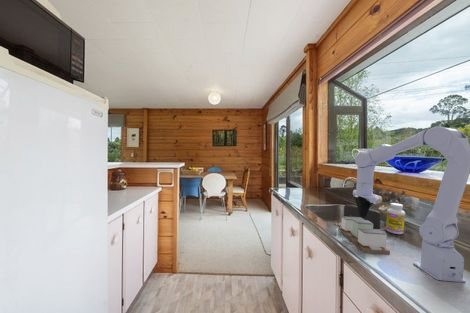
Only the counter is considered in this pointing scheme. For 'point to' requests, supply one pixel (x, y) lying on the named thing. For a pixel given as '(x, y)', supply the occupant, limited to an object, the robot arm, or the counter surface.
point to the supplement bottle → (395, 219)
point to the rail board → (363, 248)
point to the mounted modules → (365, 233)
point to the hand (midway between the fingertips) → (362, 216)
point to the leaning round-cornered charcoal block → (371, 216)
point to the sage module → (360, 226)
